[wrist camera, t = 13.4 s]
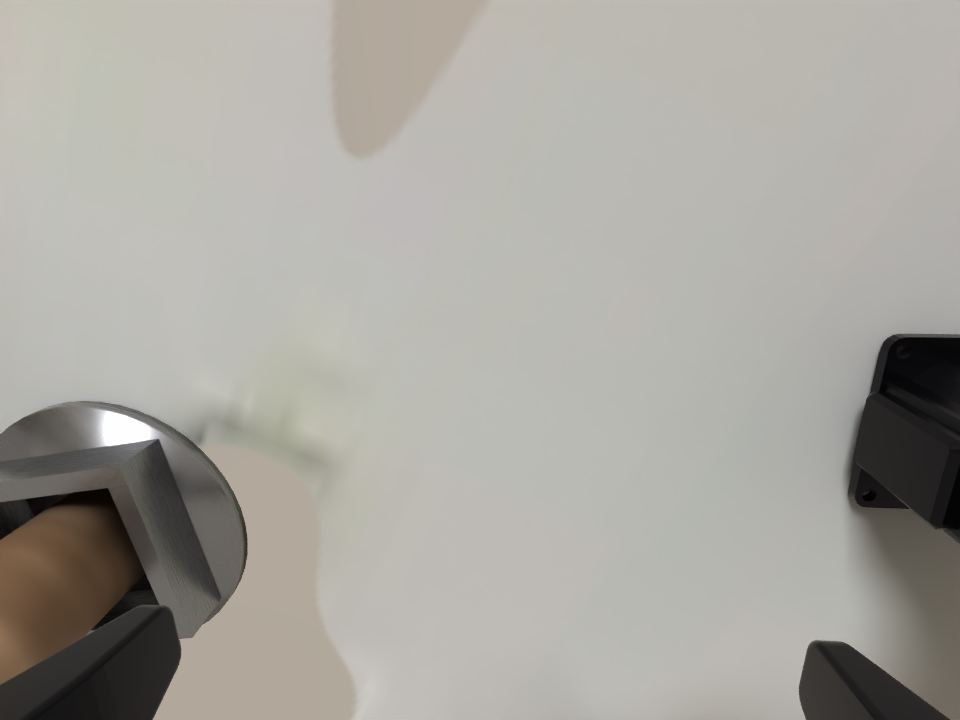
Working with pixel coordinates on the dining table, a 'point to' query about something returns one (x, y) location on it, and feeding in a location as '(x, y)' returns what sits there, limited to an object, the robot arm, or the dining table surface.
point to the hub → (133, 500)
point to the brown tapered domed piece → (62, 577)
